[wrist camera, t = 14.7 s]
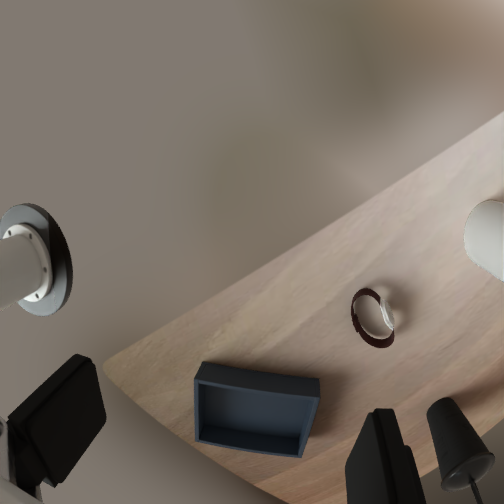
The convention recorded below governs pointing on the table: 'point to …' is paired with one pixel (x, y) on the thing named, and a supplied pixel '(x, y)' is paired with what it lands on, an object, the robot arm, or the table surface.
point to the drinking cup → (458, 448)
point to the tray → (254, 409)
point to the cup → (486, 237)
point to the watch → (386, 314)
